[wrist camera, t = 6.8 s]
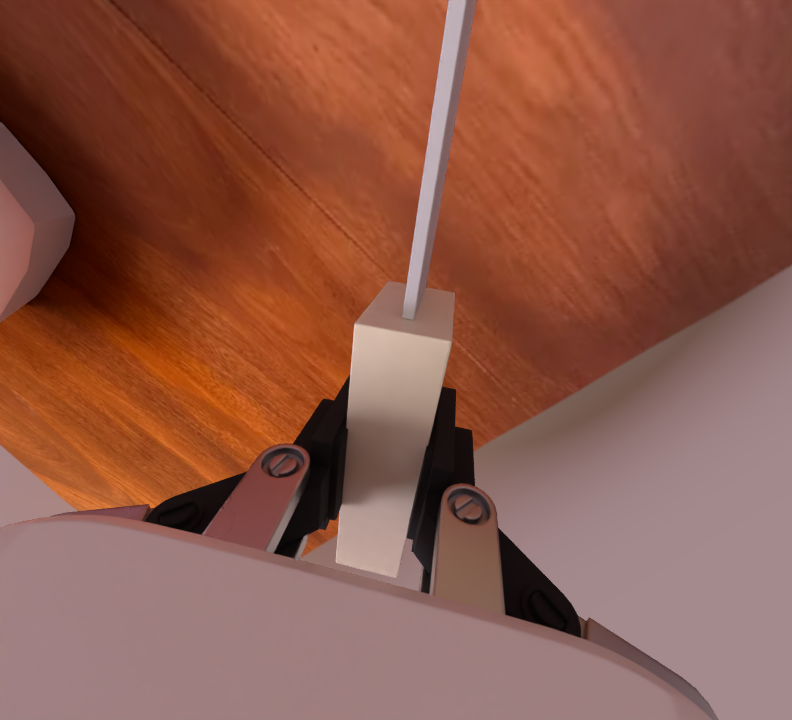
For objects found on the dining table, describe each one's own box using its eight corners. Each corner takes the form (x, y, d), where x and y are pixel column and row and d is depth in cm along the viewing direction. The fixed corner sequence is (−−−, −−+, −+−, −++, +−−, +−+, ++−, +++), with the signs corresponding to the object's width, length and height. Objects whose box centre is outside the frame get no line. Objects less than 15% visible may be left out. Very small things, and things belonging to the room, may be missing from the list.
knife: (412, 487, 15) (397, 579, 11) (364, 476, 15) (335, 563, 12) (573, -245, 6) (730, -852, 3) (452, -248, 6) (441, -817, 3)
